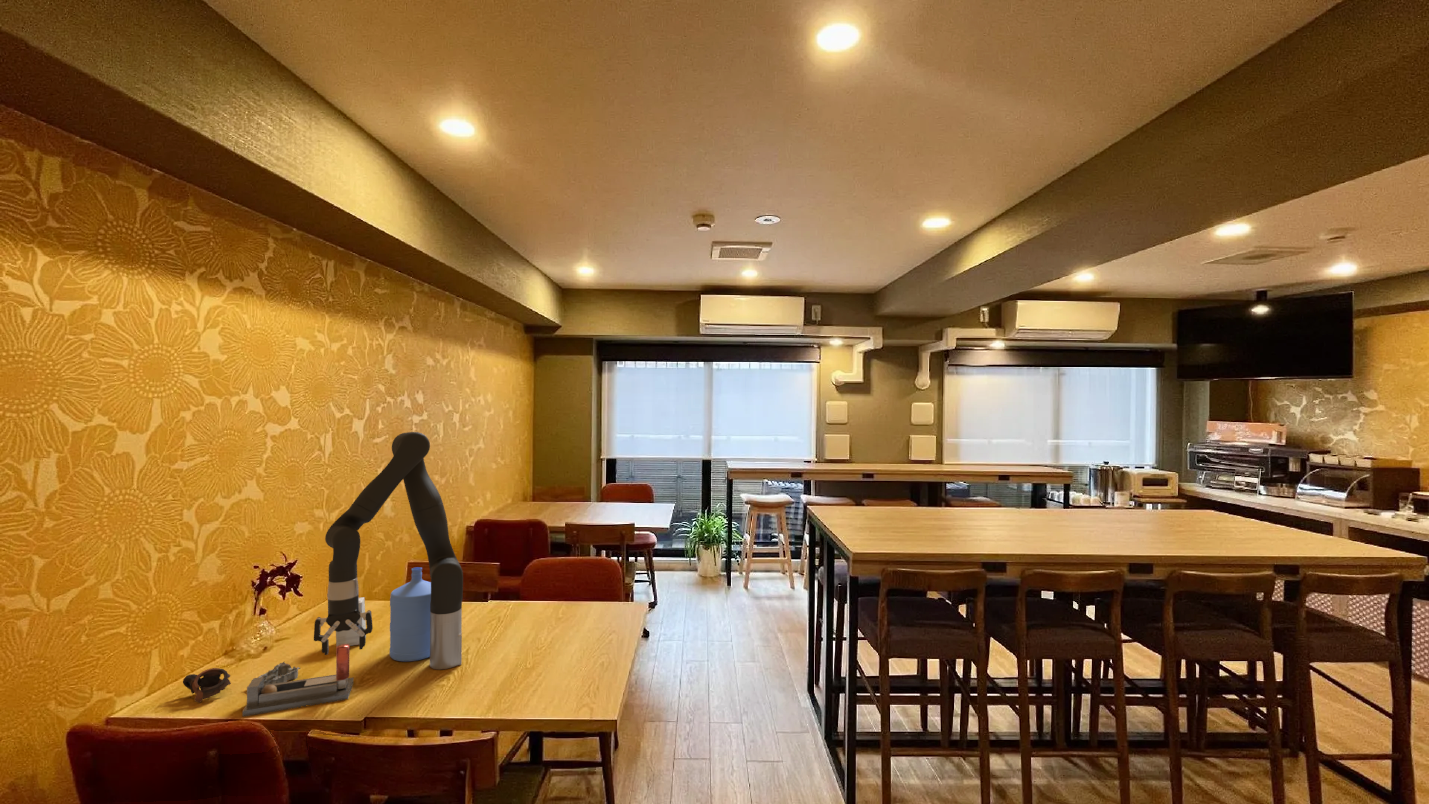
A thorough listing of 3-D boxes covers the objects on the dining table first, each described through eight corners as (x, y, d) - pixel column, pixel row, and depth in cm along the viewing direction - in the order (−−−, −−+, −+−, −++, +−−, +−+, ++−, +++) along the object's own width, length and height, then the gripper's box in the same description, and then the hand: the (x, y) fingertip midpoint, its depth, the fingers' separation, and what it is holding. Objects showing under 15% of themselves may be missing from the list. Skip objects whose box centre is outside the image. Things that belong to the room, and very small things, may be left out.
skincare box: (366, 638, 212) (366, 596, 212) (362, 645, 206) (363, 601, 206) (338, 641, 209) (338, 598, 209) (334, 648, 203) (334, 604, 203)
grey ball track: (353, 682, 179) (353, 660, 179) (347, 699, 169) (348, 676, 169) (254, 697, 169) (254, 674, 169) (242, 716, 159) (242, 692, 159)
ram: (350, 681, 176) (350, 642, 176) (348, 687, 172) (348, 647, 172) (307, 688, 171) (307, 648, 171) (303, 694, 168) (304, 653, 168)
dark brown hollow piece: (238, 686, 178) (238, 667, 174) (216, 715, 169) (216, 695, 166) (193, 679, 175) (192, 659, 172) (168, 708, 167) (167, 688, 163)
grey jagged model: (285, 673, 185) (285, 660, 185) (303, 677, 183) (303, 663, 183) (248, 689, 175) (249, 675, 175) (267, 693, 173) (267, 678, 173)
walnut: (278, 694, 169) (278, 681, 169) (275, 700, 165) (275, 686, 165) (262, 696, 167) (262, 683, 167) (259, 702, 164) (259, 689, 164)
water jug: (421, 664, 192) (421, 576, 192) (378, 660, 195) (378, 573, 195) (451, 645, 207) (452, 563, 207) (411, 641, 210) (412, 561, 210)
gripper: (373, 587, 179) (373, 642, 180) (316, 594, 174) (317, 650, 174) (370, 595, 173) (371, 651, 173) (311, 602, 167) (312, 661, 167)
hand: (344, 651), depth 173 cm, fingers open, 8 cm apart
